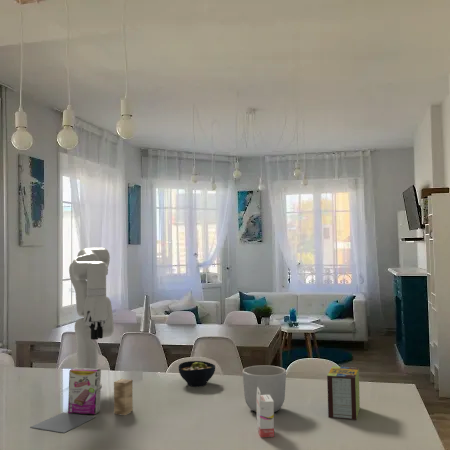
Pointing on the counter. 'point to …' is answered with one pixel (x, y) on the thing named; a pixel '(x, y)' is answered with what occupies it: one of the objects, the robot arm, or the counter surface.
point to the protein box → (343, 392)
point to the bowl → (196, 372)
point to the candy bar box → (84, 391)
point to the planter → (264, 384)
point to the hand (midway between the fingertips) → (96, 338)
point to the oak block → (123, 397)
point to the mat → (62, 422)
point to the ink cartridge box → (265, 415)
